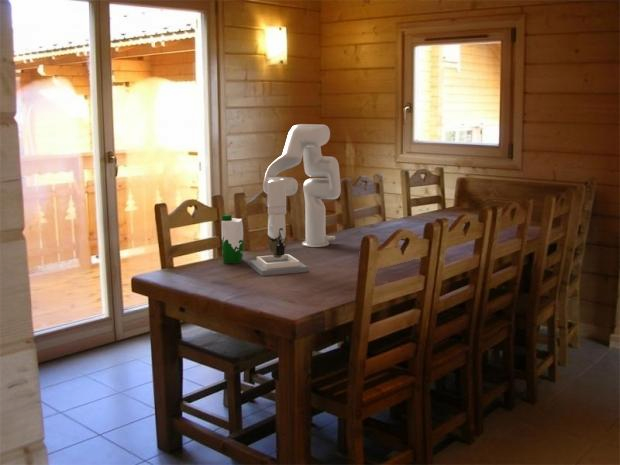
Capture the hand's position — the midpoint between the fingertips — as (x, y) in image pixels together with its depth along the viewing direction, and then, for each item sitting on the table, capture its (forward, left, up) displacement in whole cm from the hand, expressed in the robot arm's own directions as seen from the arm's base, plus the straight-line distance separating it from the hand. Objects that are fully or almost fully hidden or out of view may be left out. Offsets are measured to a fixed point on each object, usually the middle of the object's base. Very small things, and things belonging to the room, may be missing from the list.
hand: (277, 252), depth 294 cm
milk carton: (+14, -19, -7) cm, 25 cm away
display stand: (0, 0, -6) cm, 6 cm away
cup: (0, 0, -2) cm, 2 cm away
